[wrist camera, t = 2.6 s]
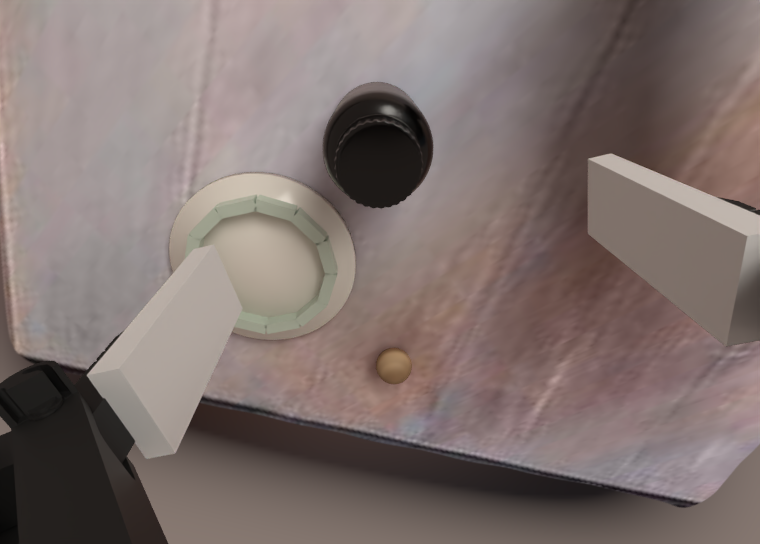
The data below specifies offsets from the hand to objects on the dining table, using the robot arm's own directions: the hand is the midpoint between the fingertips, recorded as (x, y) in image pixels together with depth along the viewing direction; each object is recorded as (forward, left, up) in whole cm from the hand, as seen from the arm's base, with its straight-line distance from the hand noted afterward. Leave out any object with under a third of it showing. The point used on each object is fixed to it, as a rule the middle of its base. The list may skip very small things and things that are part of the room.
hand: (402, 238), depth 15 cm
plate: (+8, -12, -21) cm, 26 cm away
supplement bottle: (-1, 0, -21) cm, 21 cm away
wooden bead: (+21, -3, -21) cm, 30 cm away
